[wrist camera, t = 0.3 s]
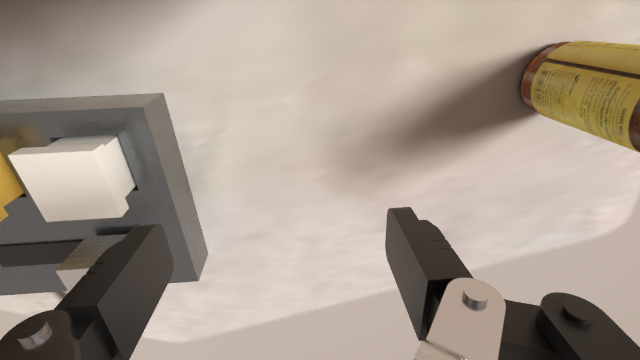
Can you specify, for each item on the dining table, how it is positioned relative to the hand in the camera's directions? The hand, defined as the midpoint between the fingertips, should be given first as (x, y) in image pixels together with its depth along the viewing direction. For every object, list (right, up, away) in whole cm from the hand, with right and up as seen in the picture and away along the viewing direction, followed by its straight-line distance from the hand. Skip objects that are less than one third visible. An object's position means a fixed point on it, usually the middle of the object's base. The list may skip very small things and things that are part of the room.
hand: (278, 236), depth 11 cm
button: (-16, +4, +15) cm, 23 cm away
